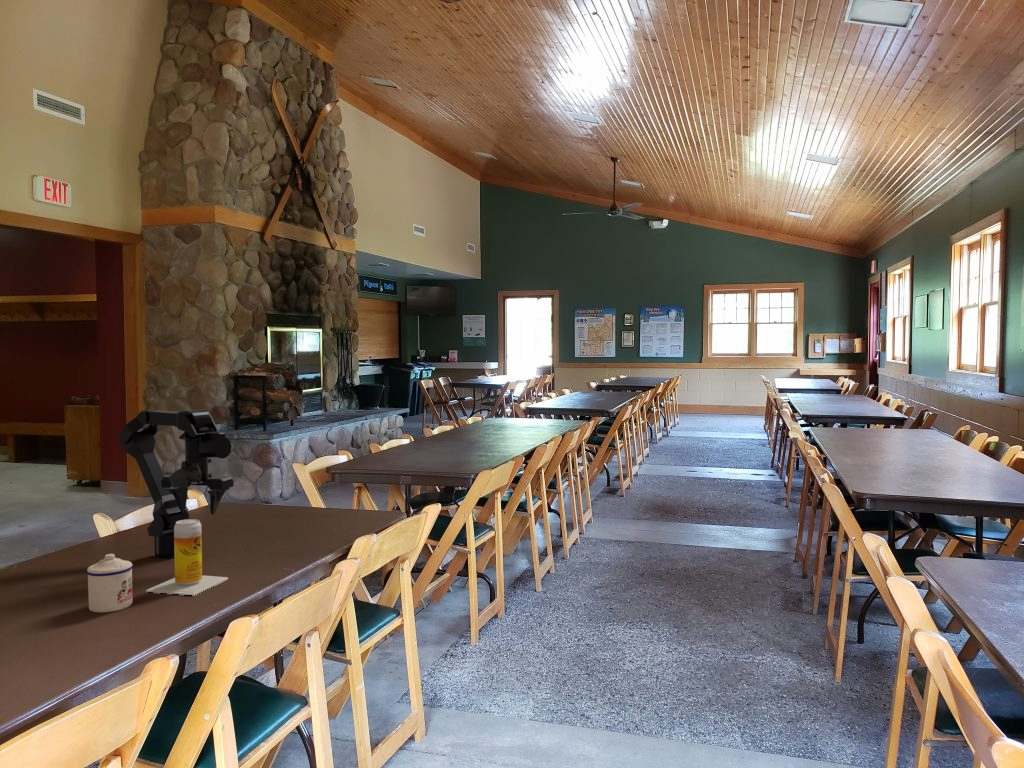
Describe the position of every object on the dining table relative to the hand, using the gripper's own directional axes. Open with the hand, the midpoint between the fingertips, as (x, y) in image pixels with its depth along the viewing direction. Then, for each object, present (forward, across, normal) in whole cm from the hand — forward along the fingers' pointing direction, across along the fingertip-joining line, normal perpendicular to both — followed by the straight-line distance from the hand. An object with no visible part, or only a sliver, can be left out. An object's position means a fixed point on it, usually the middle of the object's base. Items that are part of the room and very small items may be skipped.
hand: (197, 513), depth 198 cm
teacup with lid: (+13, +3, -34) cm, 37 cm away
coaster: (+13, +11, -19) cm, 26 cm away
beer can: (+13, +11, -19) cm, 25 cm away
